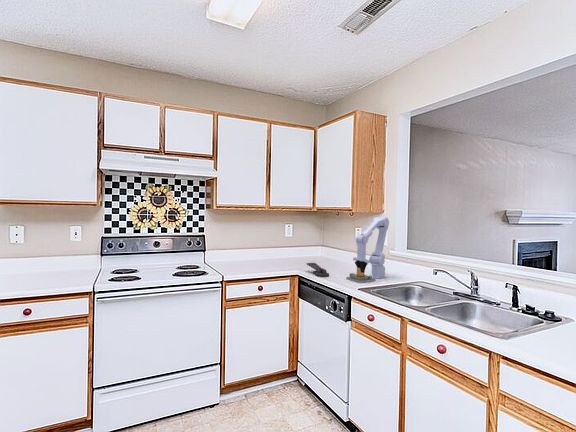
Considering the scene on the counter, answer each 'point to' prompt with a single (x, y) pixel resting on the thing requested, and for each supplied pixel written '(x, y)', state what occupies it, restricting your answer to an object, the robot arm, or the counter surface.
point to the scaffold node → (360, 278)
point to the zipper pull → (318, 270)
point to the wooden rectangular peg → (360, 272)
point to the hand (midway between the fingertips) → (360, 272)
